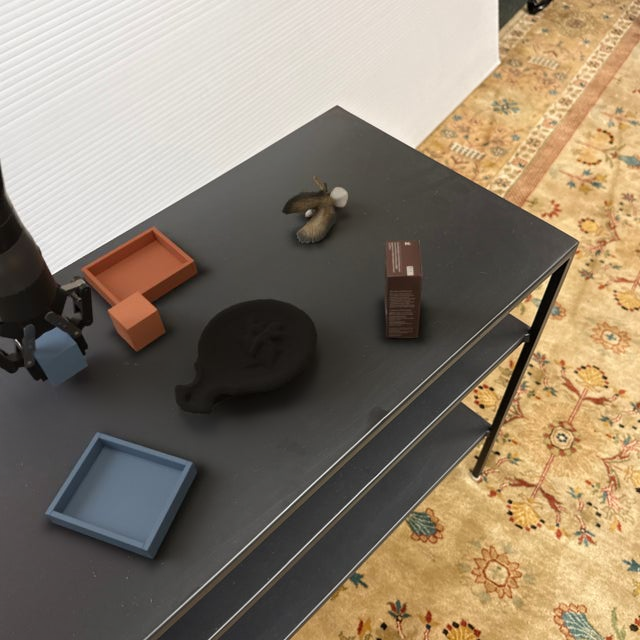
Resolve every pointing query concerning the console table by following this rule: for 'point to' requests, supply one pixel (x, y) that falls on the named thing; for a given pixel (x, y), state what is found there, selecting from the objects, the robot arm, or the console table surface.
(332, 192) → the eagle figurine
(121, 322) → the terracotta block
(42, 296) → the robot arm
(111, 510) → the blue tray
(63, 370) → the blue block
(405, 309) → the box
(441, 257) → the console table surface
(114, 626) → the console table surface
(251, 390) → the oil lamp
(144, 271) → the terracotta tray
